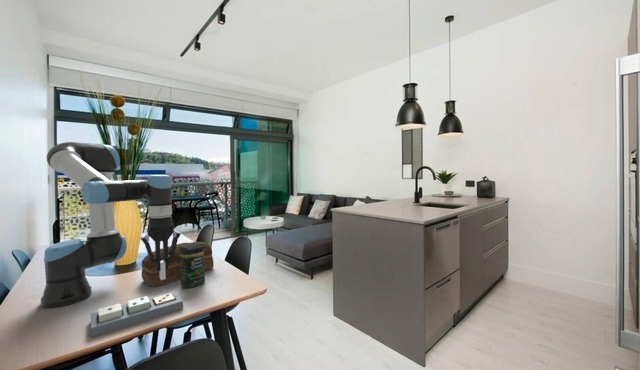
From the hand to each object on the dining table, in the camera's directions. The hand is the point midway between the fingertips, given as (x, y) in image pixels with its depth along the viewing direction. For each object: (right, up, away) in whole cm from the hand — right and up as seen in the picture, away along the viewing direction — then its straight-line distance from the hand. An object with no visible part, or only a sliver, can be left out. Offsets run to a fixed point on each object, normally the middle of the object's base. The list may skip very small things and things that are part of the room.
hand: (162, 278), depth 100 cm
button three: (0, -10, 0) cm, 10 cm away
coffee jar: (+2, -10, +21) cm, 24 cm away
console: (-6, -11, -5) cm, 14 cm away
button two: (-6, -9, -5) cm, 12 cm away
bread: (-11, -10, +34) cm, 37 cm away
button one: (-12, -9, -10) cm, 18 cm away
